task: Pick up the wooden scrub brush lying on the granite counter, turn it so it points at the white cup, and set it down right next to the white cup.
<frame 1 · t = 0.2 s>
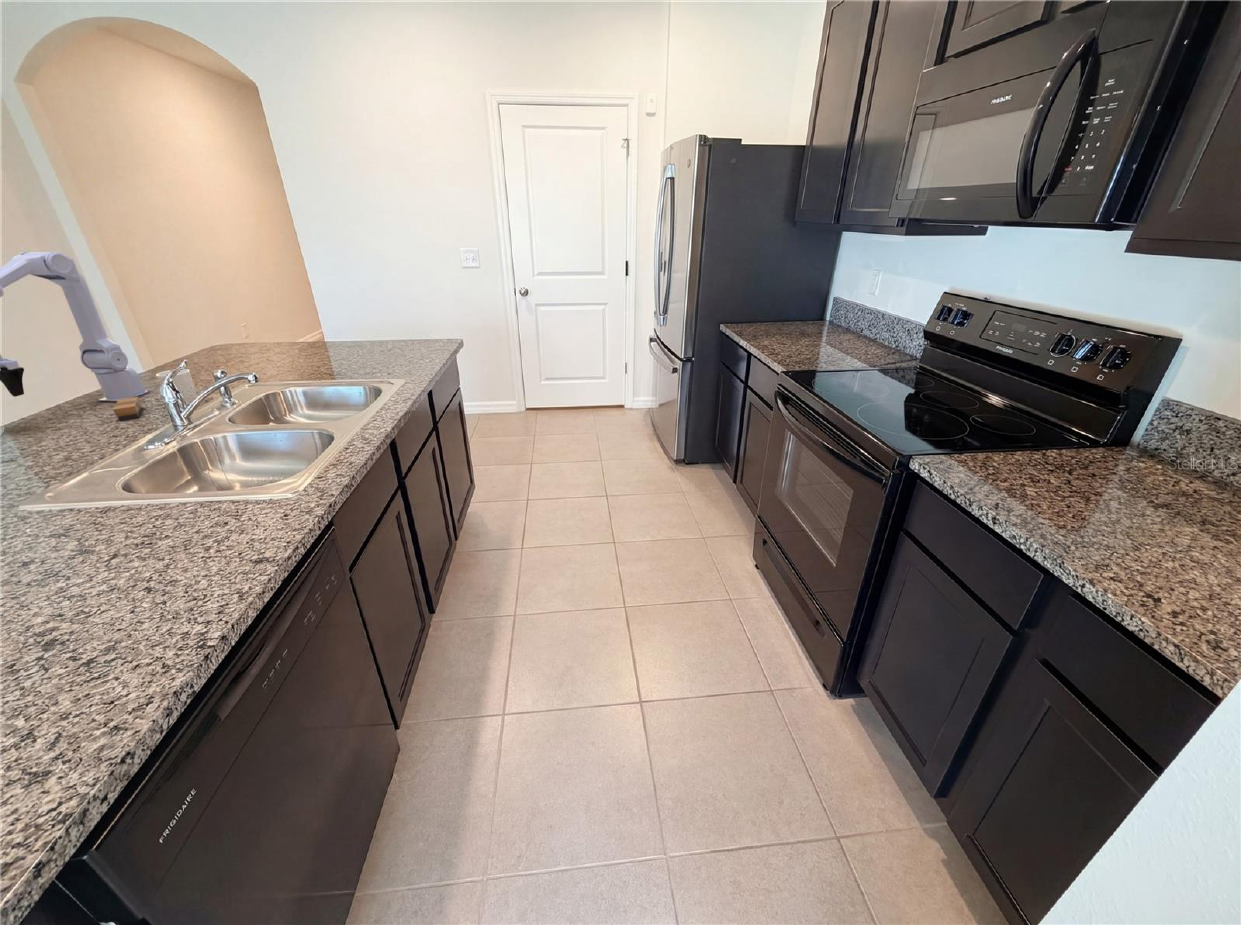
hand: (6, 395, 134), 10 cm above the counter, tool pointing down, fingers open, 7 cm apart
scrub brush: (131, 414, 149), on the counter
white cup: (185, 404, 157), on the counter
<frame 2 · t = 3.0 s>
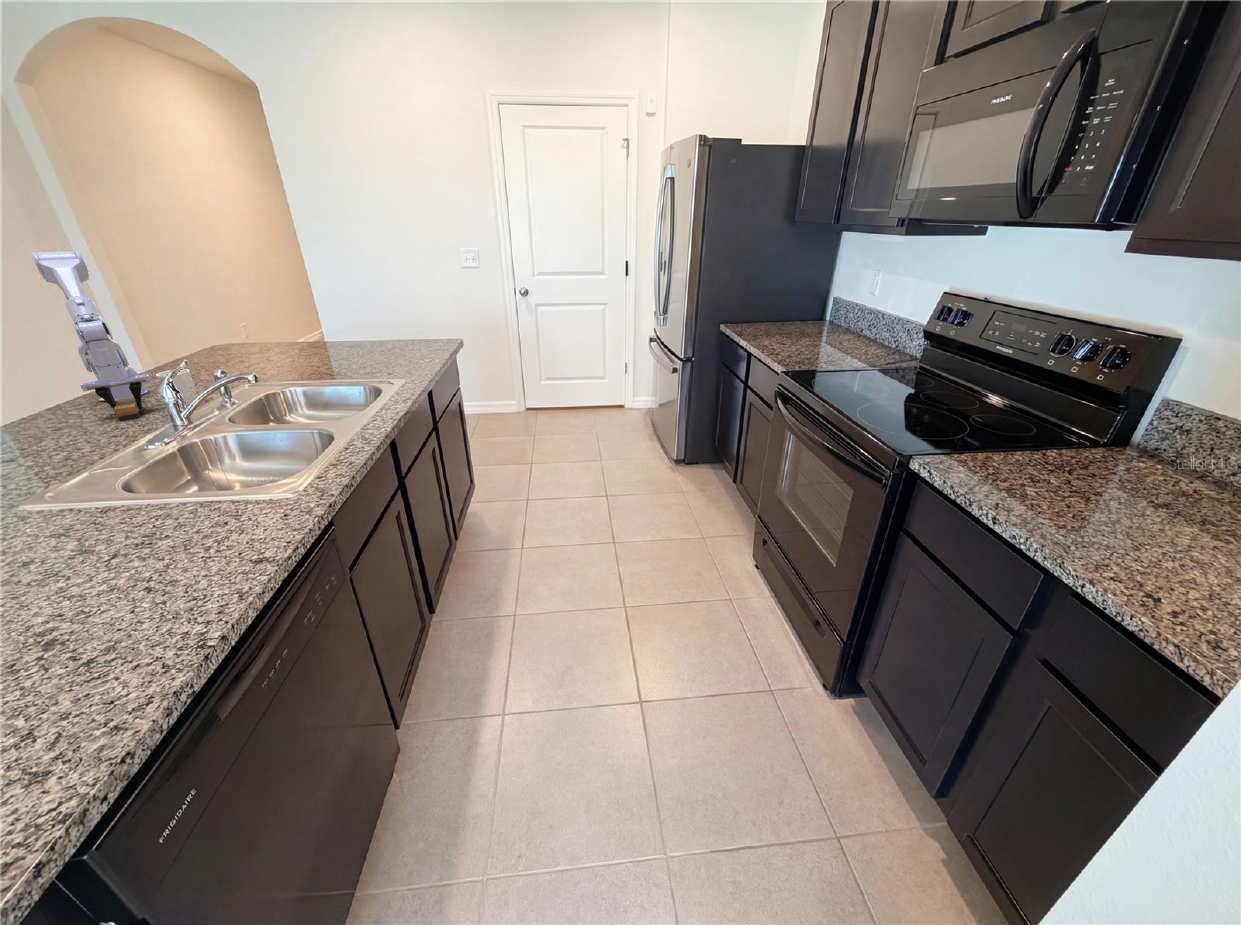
hand: (129, 409, 148), 1 cm above the counter, tool pointing down, fingers closed on scrub brush, 4 cm apart
scrub brush: (131, 414, 149), on the counter, touching gripper
everything else where it was.
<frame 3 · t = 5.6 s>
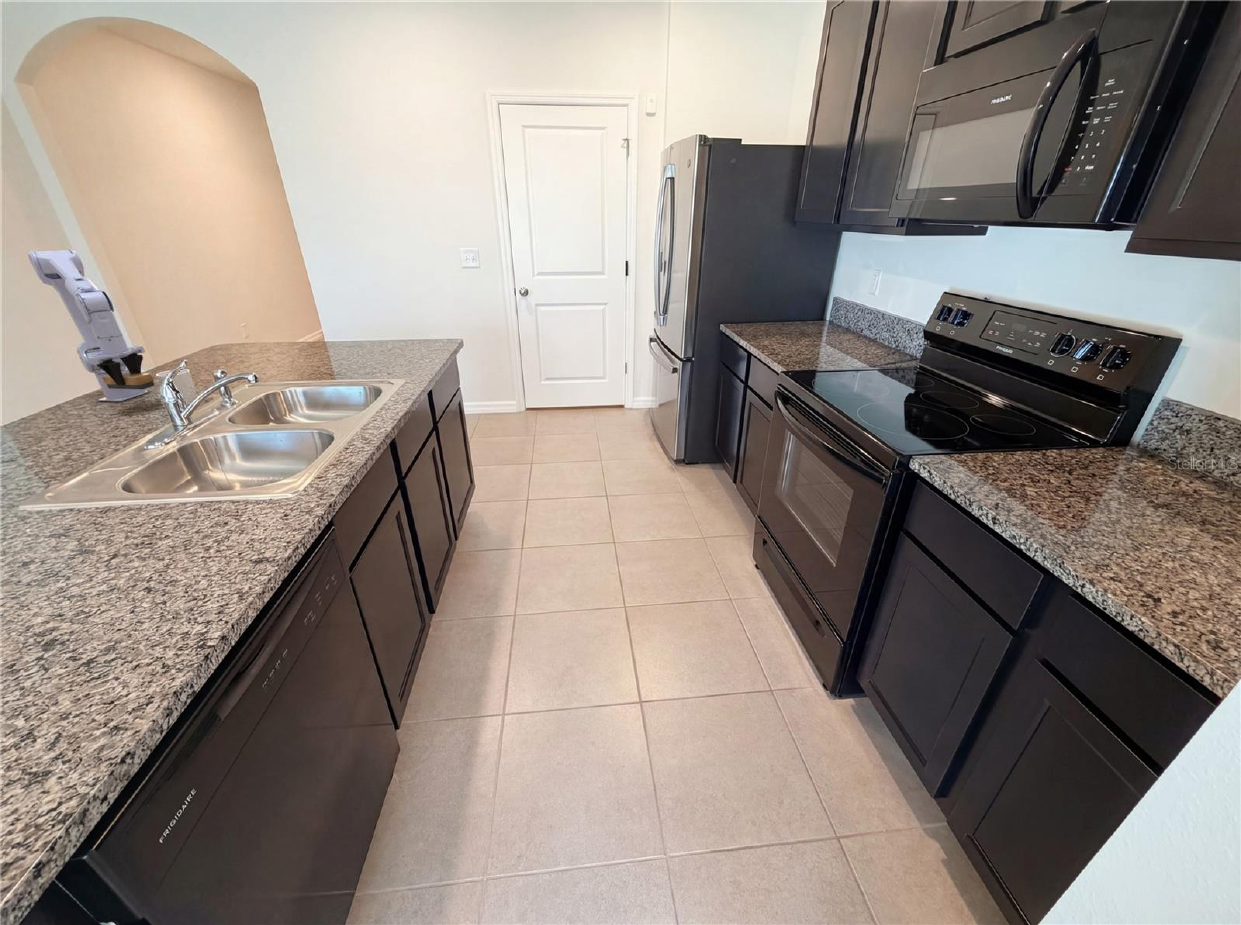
hand: (129, 382, 149), 8 cm above the counter, tool pointing down, fingers closed on scrub brush, 4 cm apart
scrub brush: (131, 387, 150), point 7 cm above the counter, touching gripper
everything else where it was.
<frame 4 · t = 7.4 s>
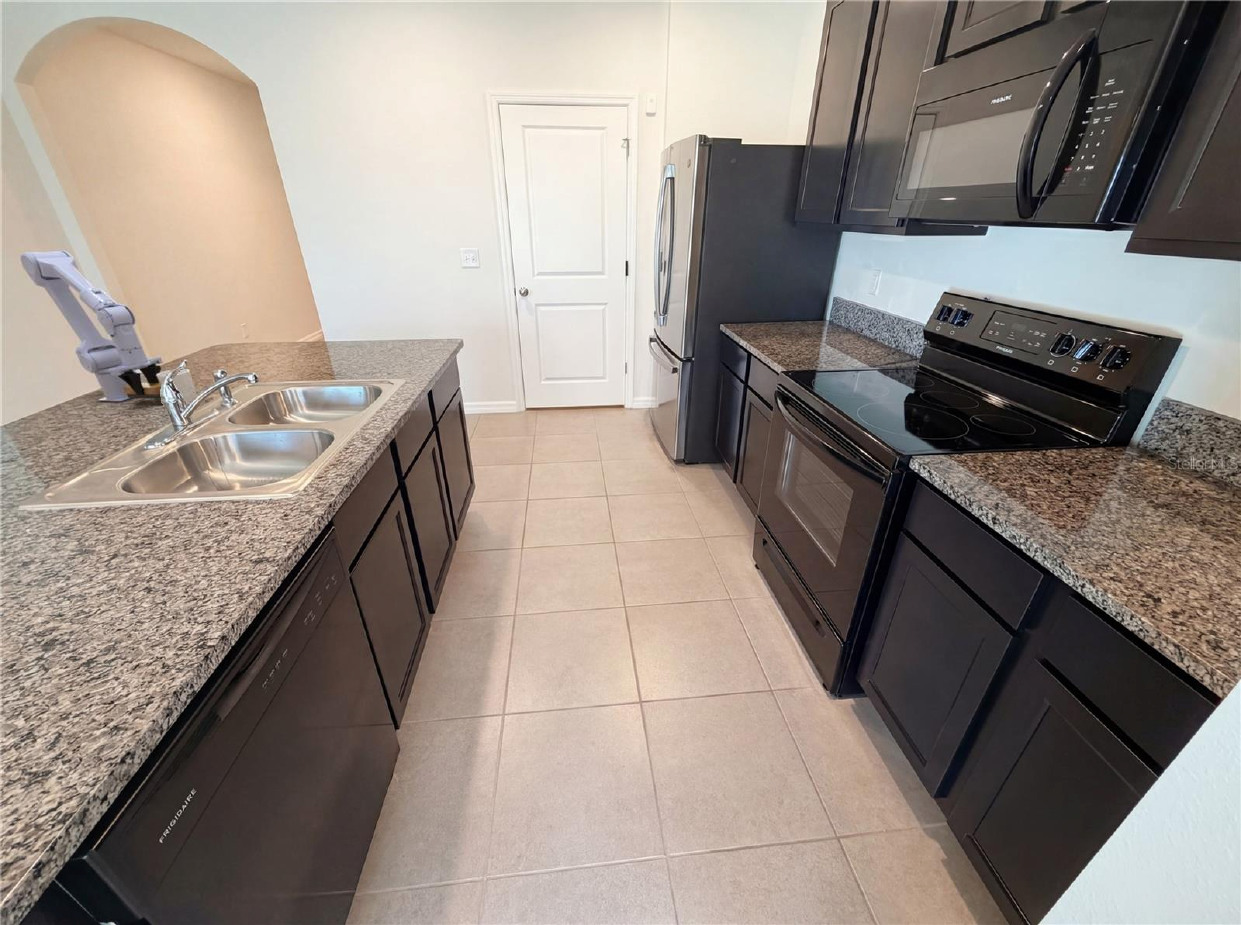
hand: (148, 392, 156), 4 cm above the counter, tool pointing down, fingers closed on scrub brush, 4 cm apart
scrub brush: (150, 396, 157), point 2 cm above the counter, touching gripper
everything else where it was.
when the fingers open (1 cm above the counter, at t = 8.6 s): scrub brush stays where it is, on the counter.
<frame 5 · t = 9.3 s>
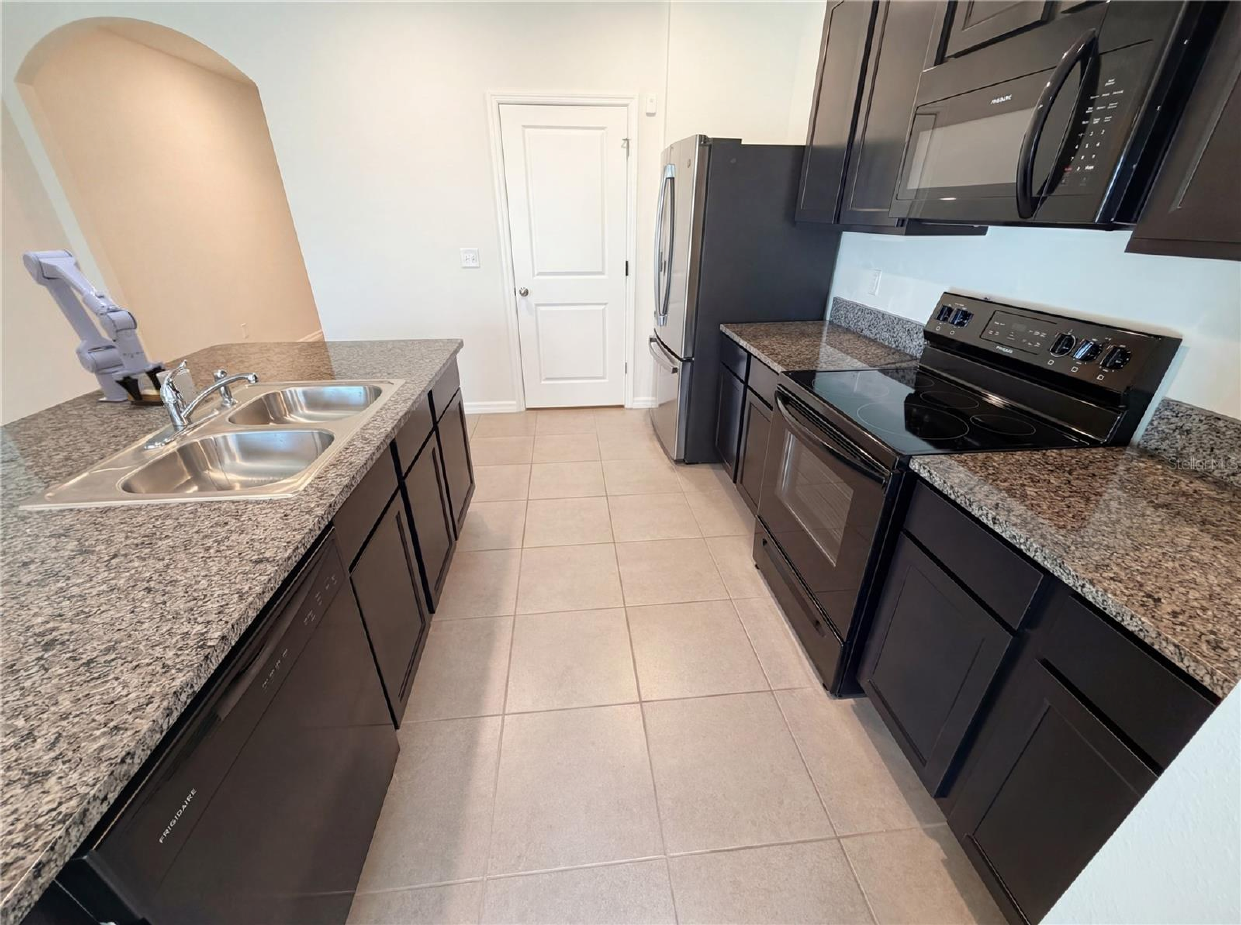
hand: (150, 396, 157), 2 cm above the counter, tool pointing down, fingers open, 7 cm apart
scrub brush: (153, 402, 158), on the counter
everything else where it was.
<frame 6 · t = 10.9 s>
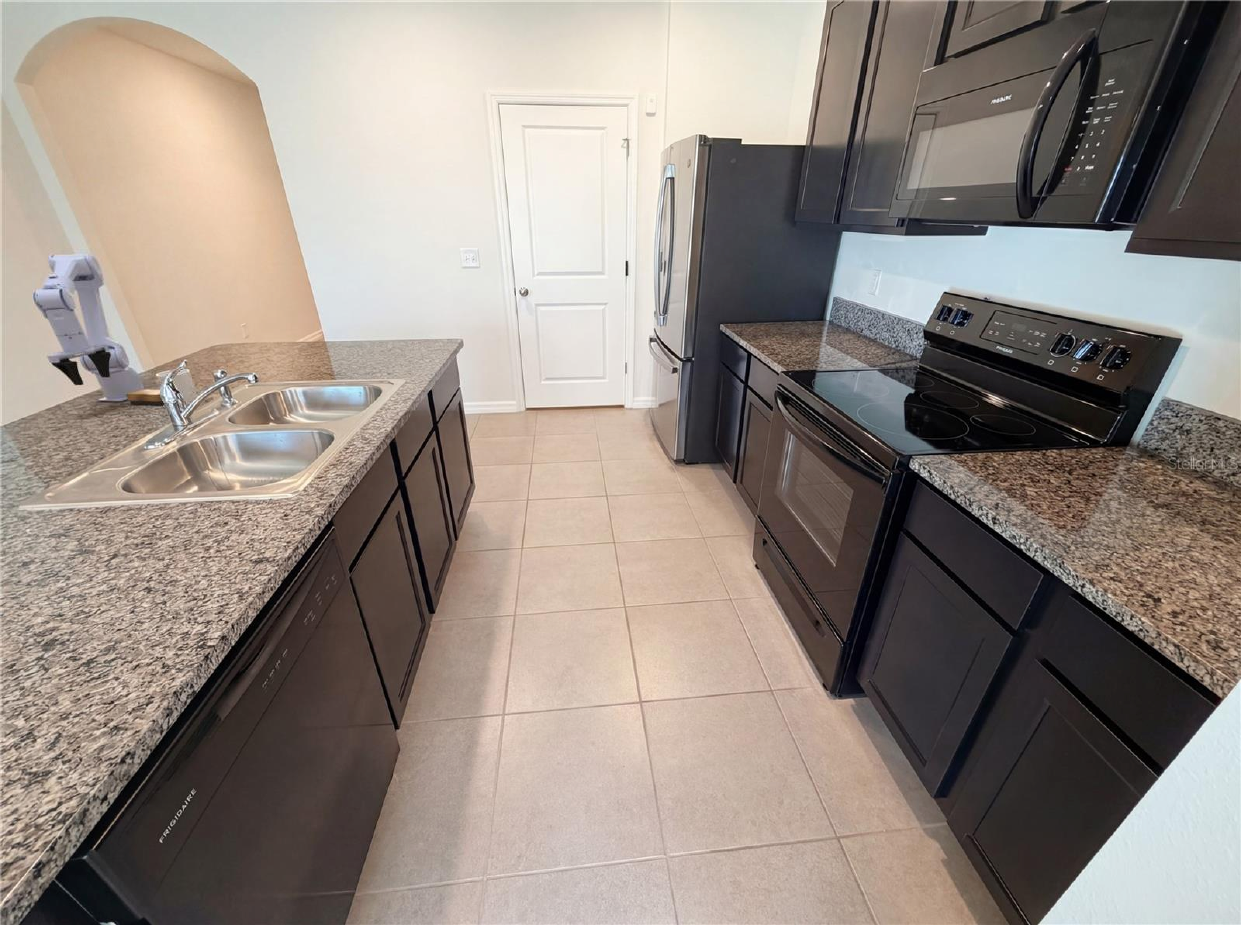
hand: (92, 380, 147), 9 cm above the counter, tool pointing down, fingers open, 7 cm apart
nothing on the counter moved.
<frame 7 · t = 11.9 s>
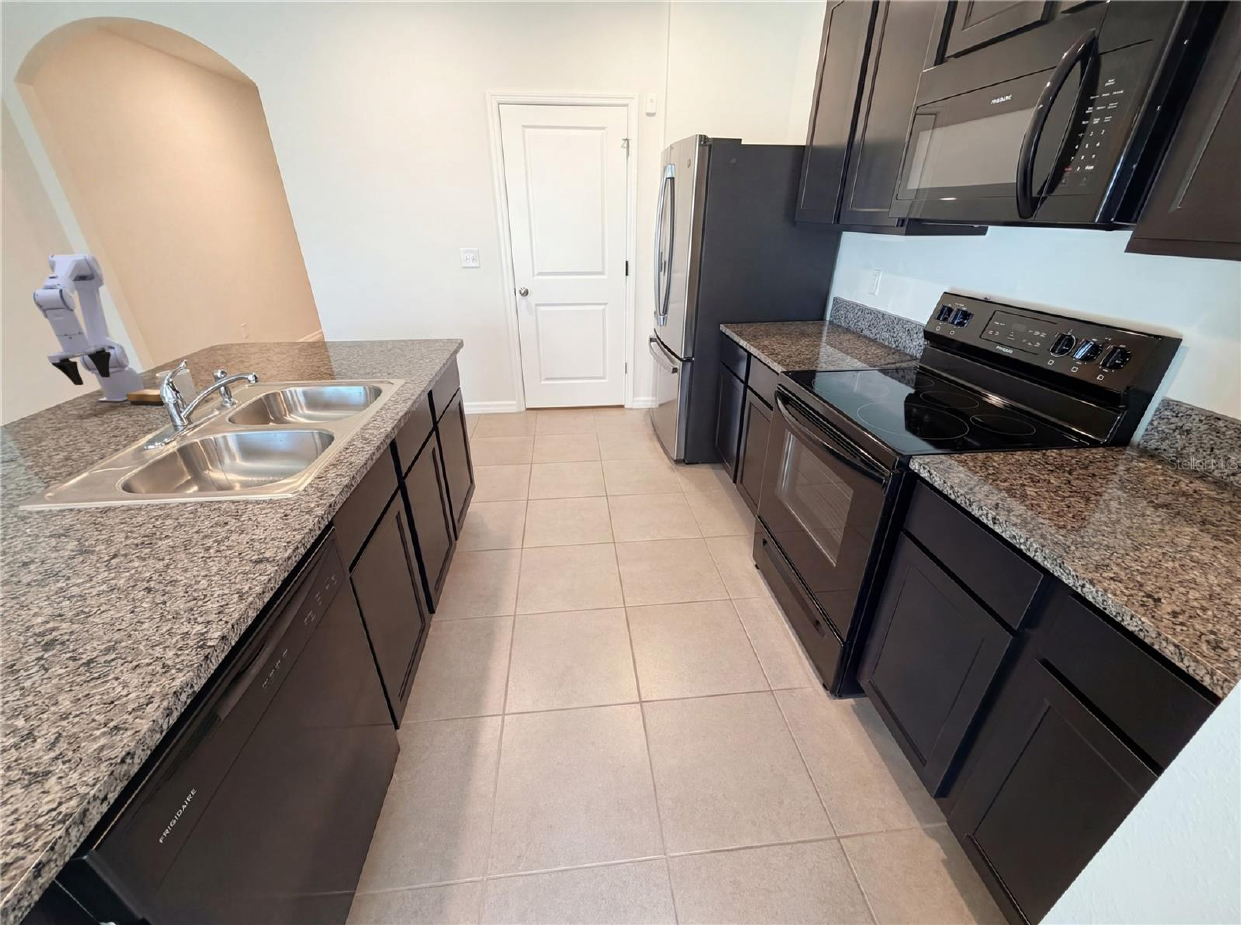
hand: (92, 380, 147), 9 cm above the counter, tool pointing down, fingers open, 7 cm apart
nothing on the counter moved.
at the end: scrub brush 10.9 cm from the white cup (horizontally); scrub brush tilted 0°; white cup moved 0.2 cm from its start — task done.
